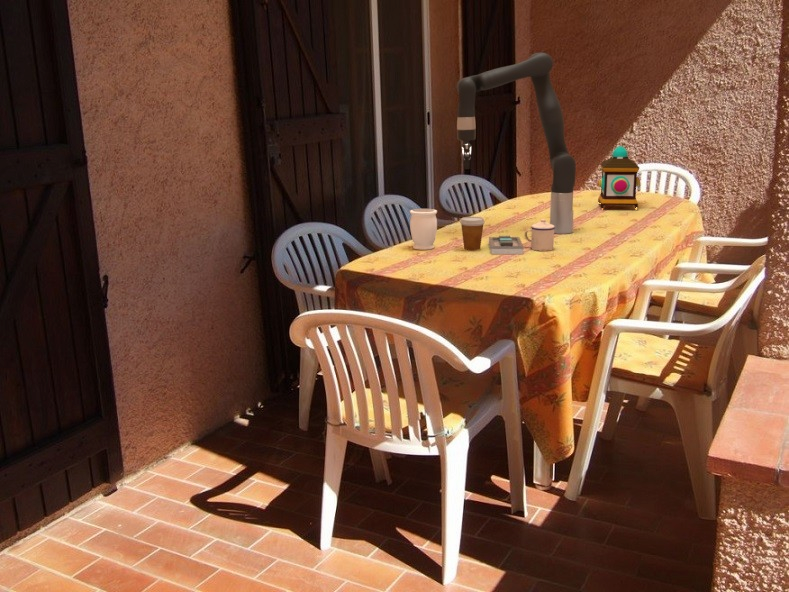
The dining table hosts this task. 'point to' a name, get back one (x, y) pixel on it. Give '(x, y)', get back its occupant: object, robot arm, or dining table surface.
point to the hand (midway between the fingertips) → (466, 167)
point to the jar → (423, 228)
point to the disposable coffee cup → (472, 232)
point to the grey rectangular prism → (504, 237)
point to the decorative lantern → (619, 180)
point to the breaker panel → (499, 249)
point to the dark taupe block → (506, 243)
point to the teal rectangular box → (505, 239)
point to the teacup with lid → (541, 236)
